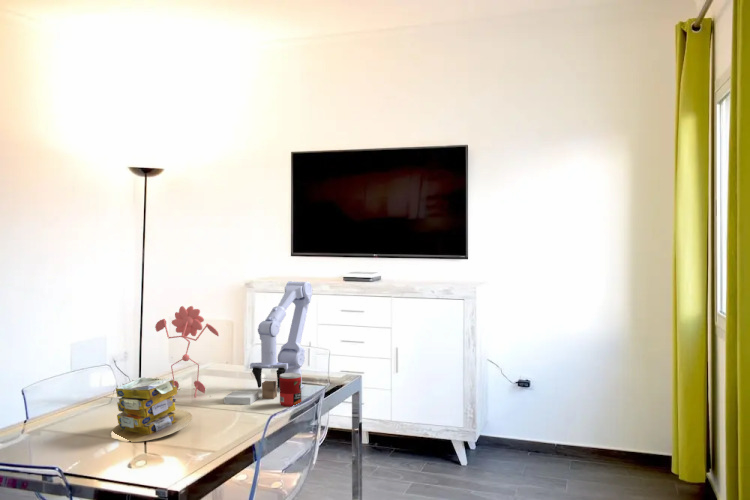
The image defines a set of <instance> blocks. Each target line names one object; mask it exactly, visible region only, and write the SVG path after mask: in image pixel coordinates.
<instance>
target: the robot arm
mask: <svg viewBox="0 0 750 500" xmlns="http://www.w3.org/2000/svg"><path fill="white" fill-rule="evenodd" d="M313 291H314V290H313V287H312V284H311V282H310V281H290V280H289V281H288V282H286V285H285V286H284V294H283V296H282V298H281V299H280V301H279V303H278V305H276V306H274V307H272V309H271V310H270V312H269V314H268V316H267V317H266V318H265V320H263V321H262V320H261V322H260V323H259V325H258V328H257V333H258V335H259V339H260V341H261V342H260V343H261V344H260V347H261V349H260V352H261V354H260V355H261V362H251V363H250V364H249V367H250V369H251V372H252V374H253V376H254V378H255V381H256V383H257V388H258V389H261V388H262V370H263V369H267V370H269V369H271V370H272V369H273V370H274V369H276V371H275V372H276V379H277V380H276V381H277V389H280V374H283V373H299V374H301V389H302V388H304V387H305V384H303V383H302V380H303V378H302V377H303V376H302V369H301V368H302V367H303V365H304V363H305V353H306V349H305V348H304V347H303V346H302V345H301V341H302V338H303V332H304V328H305V323H306V318H307V313H308V310H309V305H310V304H311V301H312V296H313ZM292 303H293V304H294V306H295V307H294V311H293V316H292V321H291V324H290V329H289V334H288V339H287V341H286V342H285V343H284V344H283V345H281V348H280V351H279V352H278V355H277V336H278V335H279V333H280V330H281V329H280V327H281V323H282V322H283V320H284V319H285V317H286V315H287V312H286V310H288V308H289V307H290V305H292Z"/></svg>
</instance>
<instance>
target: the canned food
mask: <svg viewBox="0 0 750 500" xmlns="http://www.w3.org/2000/svg"><path fill="white" fill-rule="evenodd" d="M300 402H301V403H302V388H301V374H299V373H283V374H280V388H279V403H280V406H281V407H285V408H286V407H287V408H292V407H291V406H293V405H296V404H298V403H300Z"/></svg>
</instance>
